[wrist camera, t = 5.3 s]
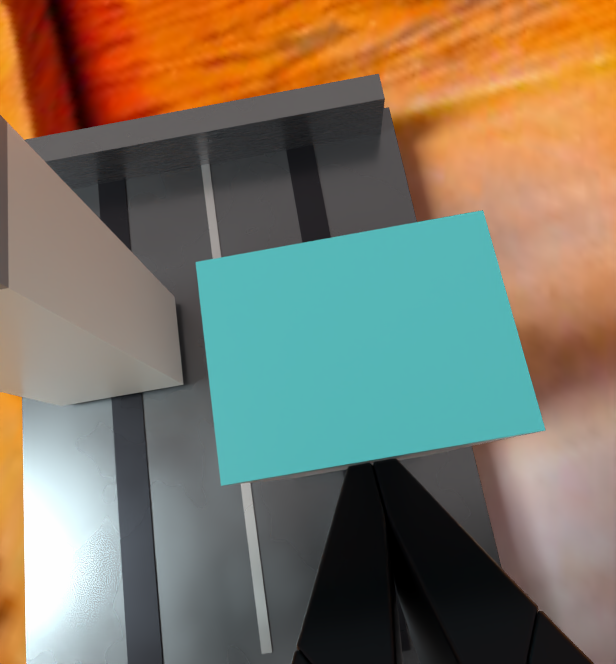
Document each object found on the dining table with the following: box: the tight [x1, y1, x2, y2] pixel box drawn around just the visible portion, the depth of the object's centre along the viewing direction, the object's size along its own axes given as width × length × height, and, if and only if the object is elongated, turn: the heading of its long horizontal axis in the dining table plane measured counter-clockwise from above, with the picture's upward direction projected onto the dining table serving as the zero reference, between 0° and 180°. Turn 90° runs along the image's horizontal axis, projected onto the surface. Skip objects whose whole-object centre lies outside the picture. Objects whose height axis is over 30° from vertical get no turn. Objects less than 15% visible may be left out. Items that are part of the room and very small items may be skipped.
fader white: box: [0, 115, 183, 406], centre depth 12 cm, size 3×4×10 cm
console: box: [22, 74, 501, 664], centre depth 16 cm, size 20×14×3 cm
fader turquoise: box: [196, 210, 545, 486], centre depth 11 cm, size 3×4×10 cm
